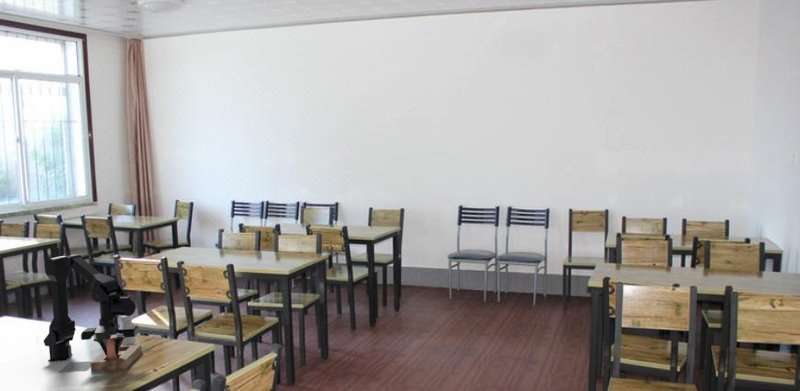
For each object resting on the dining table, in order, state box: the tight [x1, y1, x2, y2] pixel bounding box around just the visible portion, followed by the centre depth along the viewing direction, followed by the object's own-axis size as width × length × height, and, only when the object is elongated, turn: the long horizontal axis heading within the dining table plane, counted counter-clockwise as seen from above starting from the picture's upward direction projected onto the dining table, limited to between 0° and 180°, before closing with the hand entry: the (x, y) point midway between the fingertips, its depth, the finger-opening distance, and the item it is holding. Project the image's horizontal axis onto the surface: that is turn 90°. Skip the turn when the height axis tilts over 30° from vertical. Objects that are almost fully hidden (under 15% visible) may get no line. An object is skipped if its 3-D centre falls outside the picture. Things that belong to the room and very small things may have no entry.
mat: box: [57, 360, 93, 373], centre depth 227 cm, size 10×10×1 cm
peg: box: [106, 336, 117, 360], centre depth 226 cm, size 3×3×9 cm
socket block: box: [90, 343, 143, 372], centre depth 231 cm, size 12×18×4 cm, turn 5°
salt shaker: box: [120, 314, 137, 345], centre depth 248 cm, size 6×6×13 cm
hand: (112, 355), depth 226 cm, fingers closed on peg, 3 cm apart
